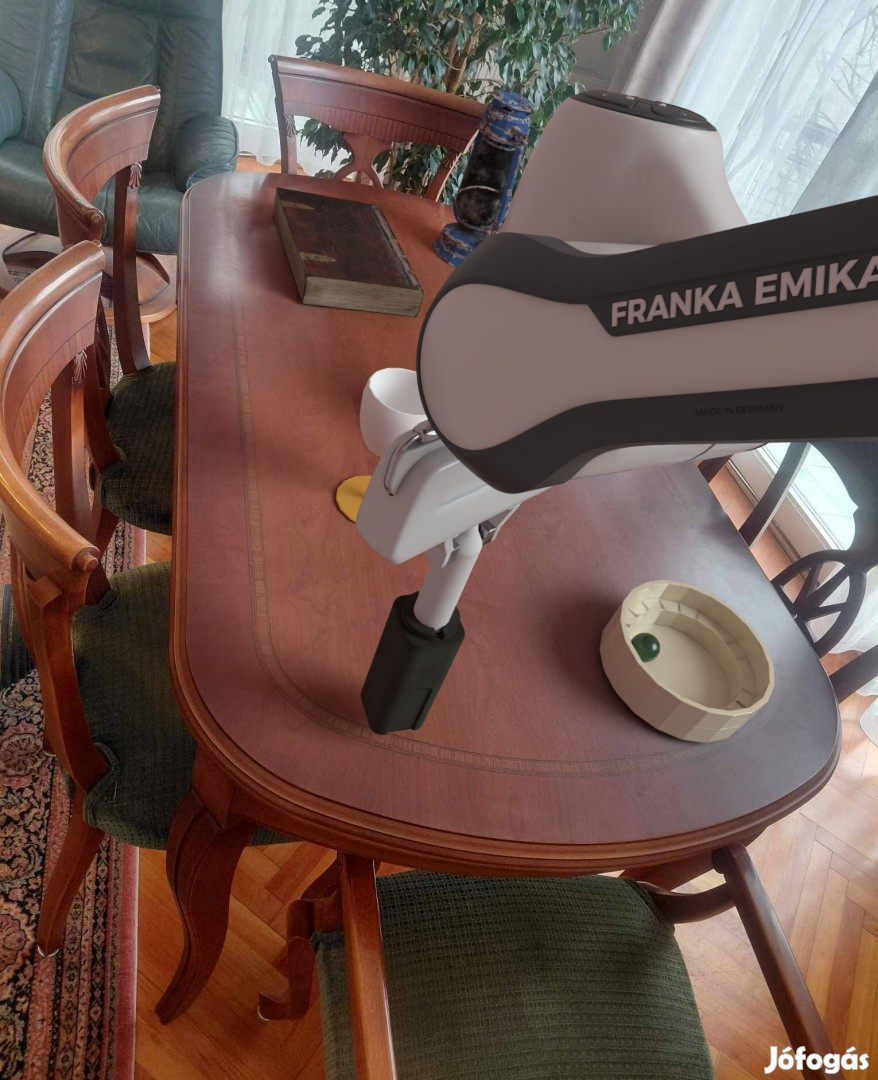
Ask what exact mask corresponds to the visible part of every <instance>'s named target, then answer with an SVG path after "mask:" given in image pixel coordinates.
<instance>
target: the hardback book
mask: <svg viewBox="0 0 878 1080" xmlns="http://www.w3.org/2000/svg"><path fill="white" fill-rule="evenodd" d="M273 204H274V205H273V211H272V214H273V217H274V221H275V224H276V226H277V229H278V232H279V235H280V238H281V242H282V245H283V248H284V251H285V255H286V257H287V260H288V263H289V266H290V269H291V273H292V275H293V279H294V282H295V285H296V287H297V290H298V294H299V296H300V299H301V304H304V305H313V306H321V307H329V308H337V309H347V310H355V311H362V312H370V313H371V312H372V313H378V314H379V313H380V314H388V315H397V316H403V317H404V316H406V317H412V318H417V316H418V315H419V313H420V311H421V308H422V304H423V301H424V293H425V291H424V289H423V287H422V285H421V283H420V281H419V279H418V278H417V276H416V273H415V271H414V270H413V268H412V266H411V264H410V262H409V260H408V257H407V256H406V255H405V252H404V250H403V248H402V246H401V245H400V243H399V241H398V239H397V237H396V235H395V233H394V231H393V229H392V227H391V225H390V224H389V223H390V222H389V221H388V219H387V217H386V216H385V213H384V211H383V210H382V208H381V205H379V204H374V203H367V202H363V201H358V200H351V199H346V198H341V197H340V198H339V197H334V196H329V195H325V194H317V193H313V192H306V191H301V190H295V189H289V188H283V187H279V186H276V189H275V196H274V203H273Z"/></svg>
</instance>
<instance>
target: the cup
mask: <svg viewBox="0 0 878 1080" xmlns="http://www.w3.org/2000/svg"><path fill="white" fill-rule="evenodd" d="M425 420H428V419H427V416H426V414H425V411H424V409H423V406H422V403H421V399H420V395H419V390H418V384H417V375H416V370H412V369H407V368H403V367H386V368H383V369H379V370H376V371H375V372H374V373H373V374H371V376H370V377H369V378H368V379H367V382H366V384H365V387H364V388H363V391H362V395H361V401H360V410H359V427H360V432H361V437H362V439H363V442H364V444H365V447H366V448H367V449H368V450H369V451H370V452H371V453H372V454H373V455H374V456H376V458H378V460H380V459H381V457H382V455H383V453H384V452H385V450H386V449H387V447H388V446H389V445H390V444H391V443H392V442H393V441H394V440H395V439H396V438H397V437H399V436H400V435H402V434H403V433H405V432H407V431H409V430H411V429H413V428H414V427H415V426H416V425H417V424H419V423H421V422H423V421H425ZM371 478H372V475H370V474H369V475H355V476H352V477H350V478H347V479H345V480H343V481H342V482H341V484H340V485H339V486H338V487H337V489H336V493H335V494H336V495H335V502H336V504H337V507H338V508H339V511H340V512H341V513H342V514H343V515H345V517H346V518H347V519H349V520H350V521H351V522H353V523H355V522H356V517H357V514H358V511H359V508H360V505H361V502H362V500H363V497H364V494H365V492H366V489H367V487H368V485H369V482H370V480H371Z"/></svg>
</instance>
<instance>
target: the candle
mask: <svg viewBox="0 0 878 1080" xmlns="http://www.w3.org/2000/svg"><path fill="white" fill-rule="evenodd" d="M453 540H455V541H456V542H457V543H458V544H459V545H460V546H461V548H460V550H459V553H458V554H457V555H456V560H455V561H453V562H451V563H449V564H448V565H446V566H444V567H442V568H441V569H437V568H436V567H435V566H434V565H433V564H431V563H430V565H429V567H428V571H427V572H426V575H425V577H424V580H423V583H422V585H421V587H420V590H416V591H414V592H412V593H410V594H402V595H399V596H397V597H396V598H395V599H394V601H393V603H392V606H391V607H390V611H389V614H388V616H387V619H386V622H385V625H384V627H383V630H382V633H381V635H380V637H379V641H378V644H377V646H376V649H375V652H374V655H373V658H372V660H371V663H370V665H369V668H368V671H367V674H366V677H365V680H364V682H363V684H362V685H363V686H362V688H361V691H360V695H359V696H360V697H359V698H360V701H361V704H362V707H363V711H364V714H365V718H366V722H367V724H368V727H369V729H370V730H371V731H372V732H373V733H374V734H375V735H376V734H377V735H380V736H387V735H388V733H395V732H402V731H409V730H412V731H417V730H419V729H420V728H422V727H423V725H424V723H425V721H426V718H427V717H428V715H429V713H430V711H431V708H432V706H433V704H434V702H435V700H436V698H437V697H438V694H439V692H440V689H441V688H442V686H443V683H444V682H445V679H446V677H447V675H448V674H449V671H450V669H451V667H452V665H453V663H454V661H455V659H456V657H457V655H458V653H459V650H460V648H461V646H462V644H463V642H464V640H465V638H466V630H465V628H464V625H463V622H462V620H461V614H460V610H459V608H458V606H457V604H458V602H459V599H460V597H461V596H462V593H463V590H464V588H465V586H466V584H467V582H468V580H469V578H470V575H471V573H472V571H473V568H474V566H475V564H476V562H477V559H478V557H479V555H480V553H481V550H482V548H483V546H482V540H481V537H480V534H479V531H478V525H476V526H474V527H472V528H470V529H468V530H466V531H464V532H462V533H460V534H459V535H458V536H457V537H455V538H453Z"/></svg>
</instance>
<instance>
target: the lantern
mask: <svg viewBox="0 0 878 1080" xmlns="http://www.w3.org/2000/svg"><path fill="white" fill-rule="evenodd" d="M516 85H517V86H518V87H519V88H520V90H519V93H518V92H514V91H513V90H514V89H515V86H516ZM523 94H524V85H523V83H521V82H519V80H515V81H513V83H512V85H511V87H510V88H509V87H507V88H506V89H499V90H492V91H491V92H490V96H491V98H492V100H491V101H489V102H488V103H487V105H486V109H485V111H484V114H483V115H482V118H481V120H480V122H479V124H477V129H478V131H477V134H476V137H475V139H474V143H473V145H472V150H471V151H470V154H469V158H468V160H467V164H466V166H465V169H464V172H463V174H462V178H461V181H460V184H459V186H458V188H457V190H456V192H455V194H454V196H453V199H452V200H453V202H452V203H453V205H452V212H453V216H454V218H455V221H456V222H450V223H446V224H445V225H444V226H443V227H442V230H441V233H440V236H439V237H438V238H437V239H436V240H435V242H433V243H432V251H433V252H434V253H435V255H436V256H437V257H438V259H440V260H442V261H443V262H444V263H446V264H447V265H449V266H452V267H454V268H455V269H456V268H457V266H458V265H459V264H460V263H461V262H462V261H463V260H464V258H465V257H466V256H467V255H468V254H469V253H470V252H471V251H472V250H473V249H475V248H476V247H477V246H478V245H479V244H480V243H481V242H482V241H483V240H485V239H486V238H488V237H490V236H491V235H494V234H497V233H500V232H501V229H502V227H503V223H504V221H505V218H506V215H507V212H508V210H509V207H510V204H511V201H512V194H513V193H512V192H513V189H514V185H515V182H516V179H517V175H518V172H519V168H520V165H521V162H522V159H523V155H524V152H525V148H526V146H528V144H529V138H528V137H529V134H530V132H529V131H530V127H531V125H532V120H531V118H530V117H531V115H532V112H533V113H534V112H535V111H536V110H537V108H536V106H535V104H534V103H532V101H531V100H530V99H529V98H528V97H525V96H524V95H523ZM489 231H490V233H489Z"/></svg>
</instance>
